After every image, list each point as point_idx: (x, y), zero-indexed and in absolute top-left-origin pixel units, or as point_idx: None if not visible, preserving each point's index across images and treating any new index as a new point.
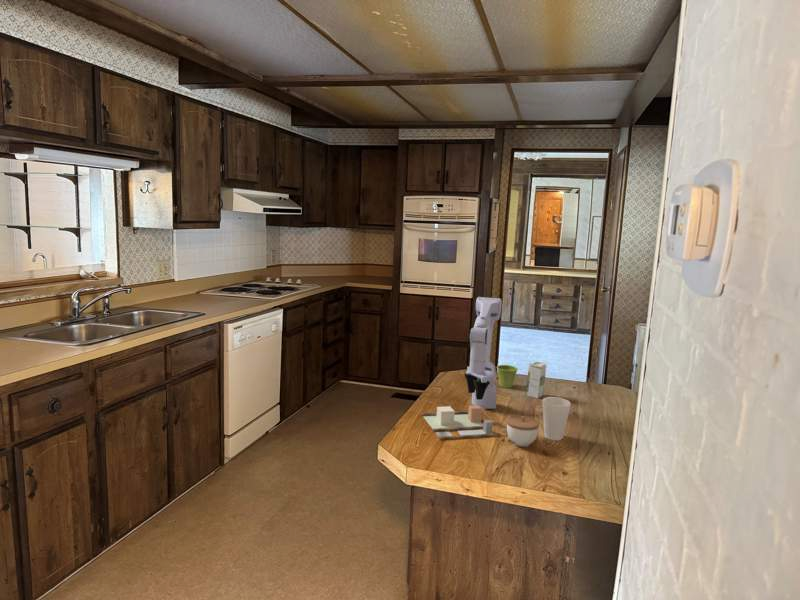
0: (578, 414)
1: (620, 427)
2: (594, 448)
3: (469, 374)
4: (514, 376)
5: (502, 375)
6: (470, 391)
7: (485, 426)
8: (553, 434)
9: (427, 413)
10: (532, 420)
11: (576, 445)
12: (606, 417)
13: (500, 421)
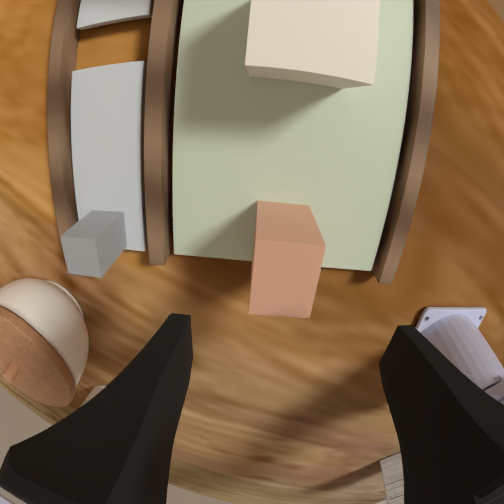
0: (256, 479)
1: (177, 483)
2: (66, 415)
3: (494, 492)
4: None
5: None
6: (398, 345)
7: (83, 224)
8: (84, 401)
9: (432, 7)
10: (30, 392)
11: (72, 404)
12: (228, 491)
13: (266, 347)
